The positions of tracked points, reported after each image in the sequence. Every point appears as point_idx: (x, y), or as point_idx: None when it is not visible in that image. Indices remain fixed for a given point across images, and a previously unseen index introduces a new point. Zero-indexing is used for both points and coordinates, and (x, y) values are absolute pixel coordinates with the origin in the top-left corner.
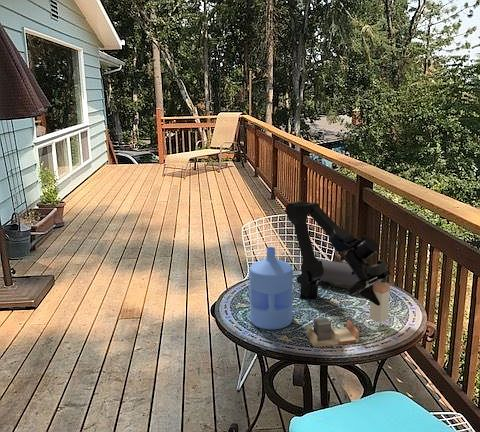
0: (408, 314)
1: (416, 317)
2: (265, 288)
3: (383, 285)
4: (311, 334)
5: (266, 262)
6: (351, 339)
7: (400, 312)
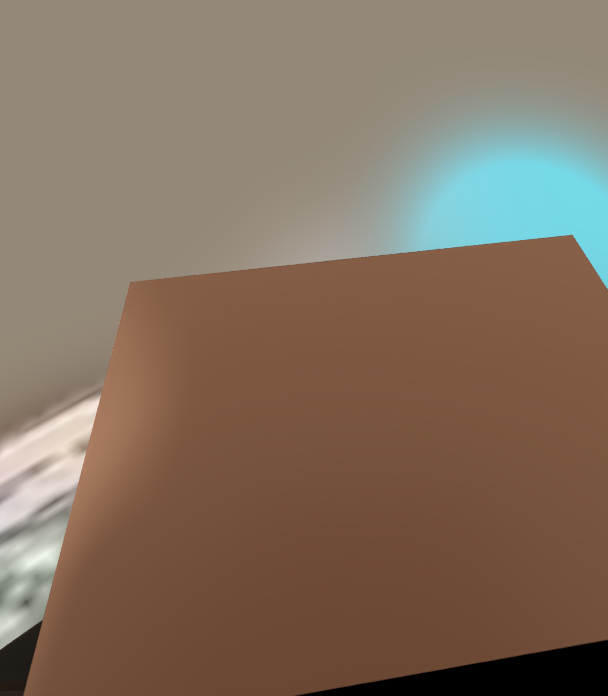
0: (44, 505)
1: (62, 442)
2: None
3: (330, 383)
4: None
5: None
6: None
7: (39, 572)
